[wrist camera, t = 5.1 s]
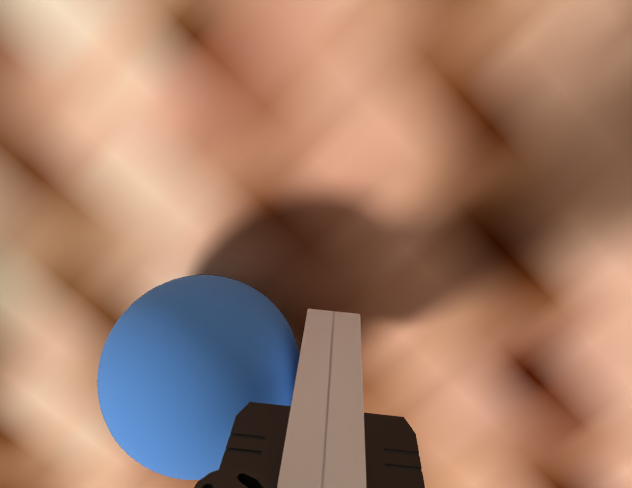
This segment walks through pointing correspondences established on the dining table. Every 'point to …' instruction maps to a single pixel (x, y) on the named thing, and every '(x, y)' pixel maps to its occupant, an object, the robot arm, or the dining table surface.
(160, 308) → the ball
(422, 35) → the dining table surface
